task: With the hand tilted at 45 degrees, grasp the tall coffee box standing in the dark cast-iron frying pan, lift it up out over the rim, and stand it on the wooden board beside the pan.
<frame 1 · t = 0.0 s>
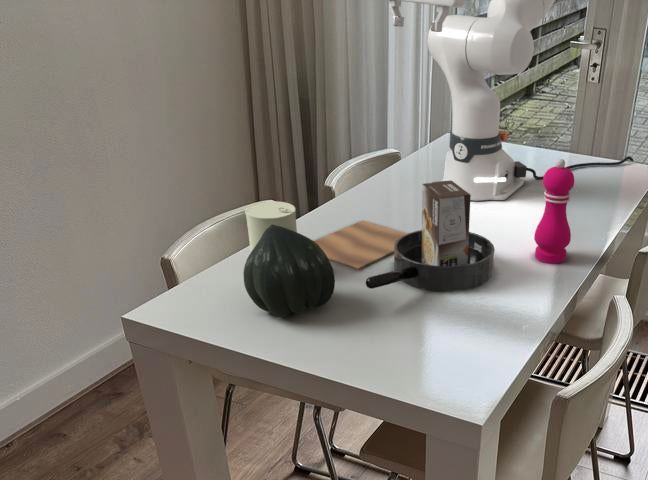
hand: (417, 29, 152), 39 cm above the table, tool pointing down, fingers open, 8 cm apart
can: (276, 268, 148), on the table
pan: (443, 271, 149), on the table
pepper mill: (550, 258, 156), on the table
coffee box: (443, 271, 149), resting on pan
squash: (291, 307, 134), on the table
wooden board: (360, 244, 159), on the table
pan handle: (393, 277, 136), point 4 cm above the table
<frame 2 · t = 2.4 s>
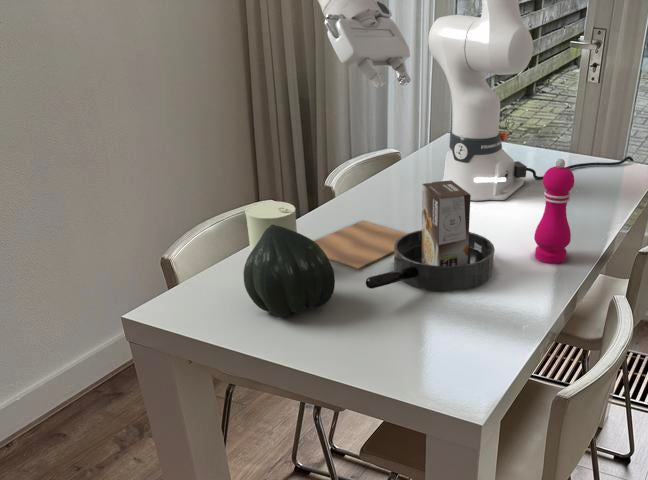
hand: (394, 84, 140), 32 cm above the table, tool tilted 40°, fingers open, 8 cm apart
nothing on the table moved.
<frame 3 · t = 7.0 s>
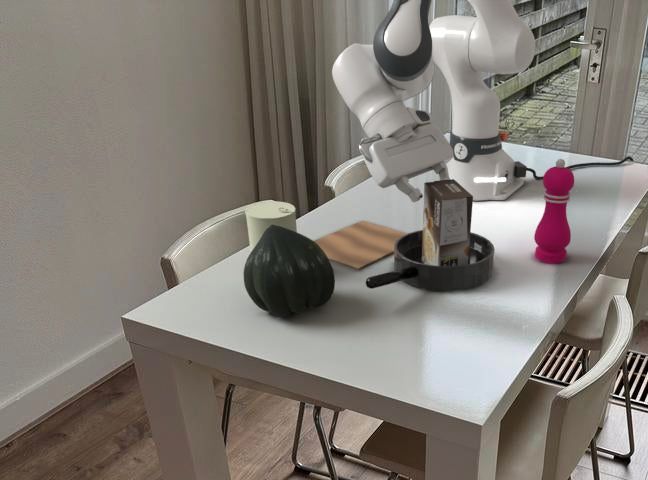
hand: (433, 193, 142), 15 cm above the table, tool tilted 45°, fingers open, 8 cm apart
coffee box: (443, 269, 149), resting on pan, touching gripper
everything else where it was.
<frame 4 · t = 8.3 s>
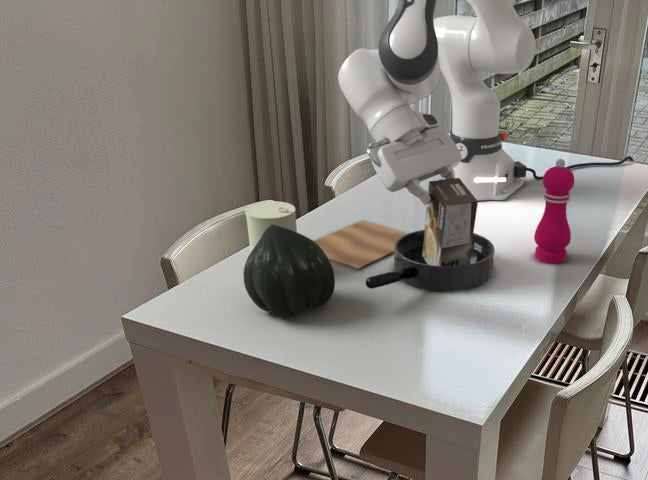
hand: (443, 196, 141), 15 cm above the table, tool tilted 45°, fingers closed on coffee box, 7 cm apart
coffee box: (444, 266, 148), point 1 cm above the table, touching gripper, pan
everything else where it was.
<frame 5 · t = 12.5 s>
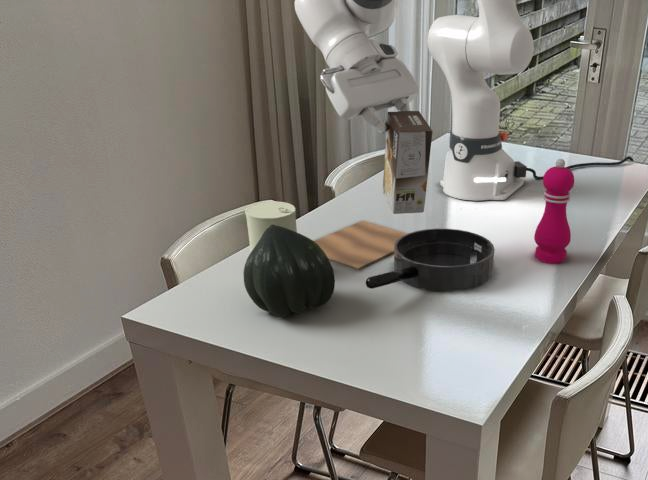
hand: (398, 127, 141), 25 cm above the table, tool tilted 45°, fingers closed on coffee box, 6 cm apart
coffee box: (402, 202, 148), point 11 cm above the table, touching gripper
everything else where it was.
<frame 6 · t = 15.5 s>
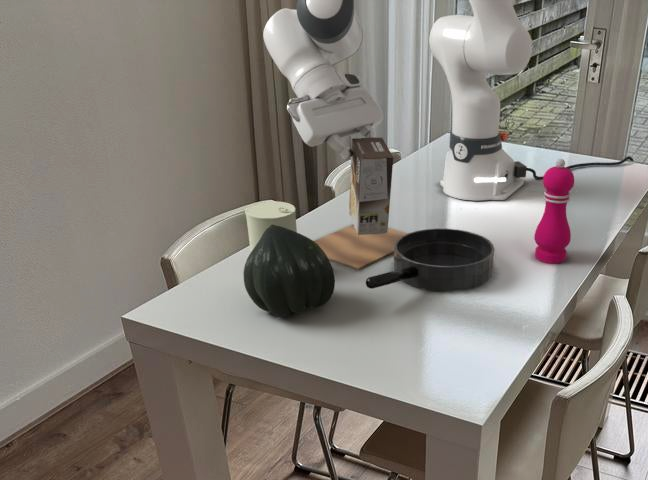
hand: (362, 153, 148), 19 cm above the table, tool tilted 45°, fingers closed on coffee box, 6 cm apart
coffee box: (367, 223, 155), point 5 cm above the table, touching gripper
everything else where it was.
when the fingers open (15 cm above the table, at t = 17.1 s): coffee box stays where it is, resting on wooden board.
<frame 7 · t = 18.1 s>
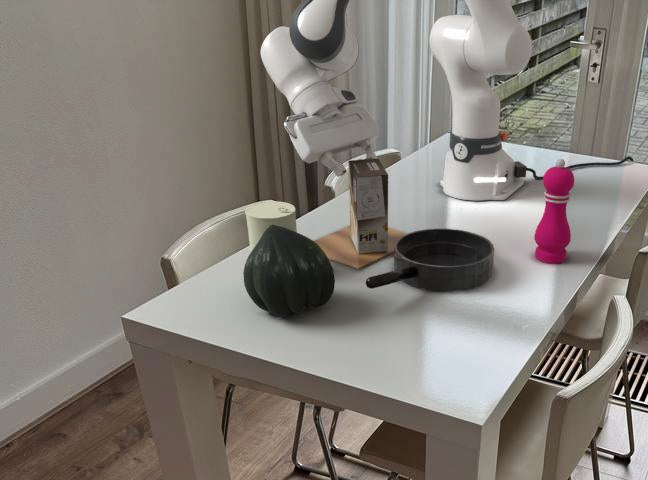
hand: (358, 168, 150), 16 cm above the table, tool tilted 45°, fingers open, 8 cm apart
coffee box: (368, 244, 158), point 1 cm above the table, touching wooden board, gripper
everything else where it was.
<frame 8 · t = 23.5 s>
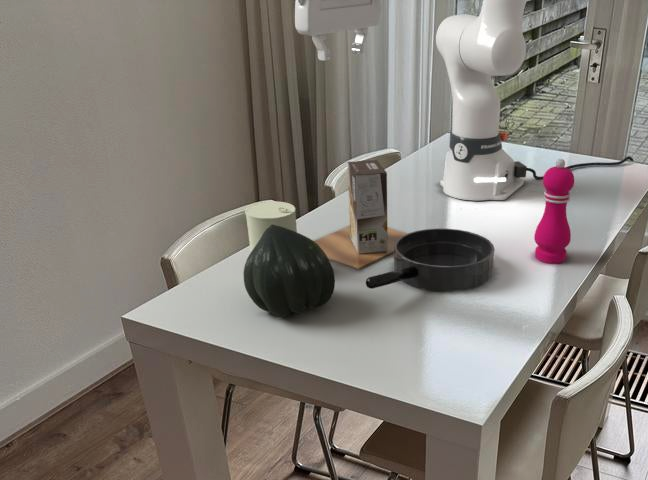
hand: (341, 56, 145), 35 cm above the table, tool pointing down, fingers open, 8 cm apart
coffee box: (368, 245, 158), resting on wooden board
everything else where it was.
at the end: coffee box inside the target area (1.0 cm from its centre), resting on wooden board; coffee box tilted 0°; the gripper is holding nothing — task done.
